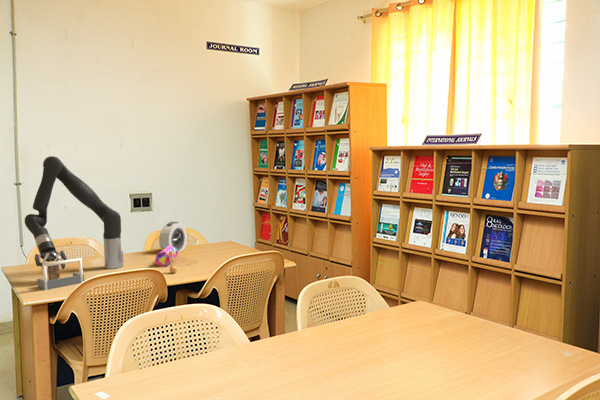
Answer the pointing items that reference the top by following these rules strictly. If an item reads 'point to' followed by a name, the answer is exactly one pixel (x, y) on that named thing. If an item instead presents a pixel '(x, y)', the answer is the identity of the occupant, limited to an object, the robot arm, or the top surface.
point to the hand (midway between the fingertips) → (55, 269)
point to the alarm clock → (173, 236)
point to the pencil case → (161, 256)
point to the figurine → (172, 268)
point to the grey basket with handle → (62, 281)
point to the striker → (53, 272)
